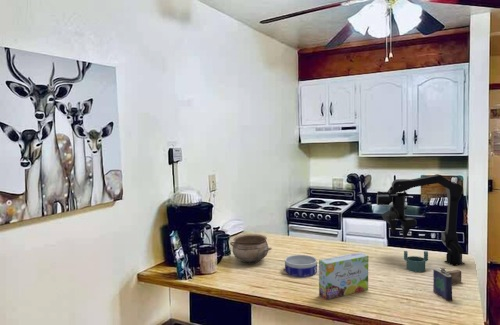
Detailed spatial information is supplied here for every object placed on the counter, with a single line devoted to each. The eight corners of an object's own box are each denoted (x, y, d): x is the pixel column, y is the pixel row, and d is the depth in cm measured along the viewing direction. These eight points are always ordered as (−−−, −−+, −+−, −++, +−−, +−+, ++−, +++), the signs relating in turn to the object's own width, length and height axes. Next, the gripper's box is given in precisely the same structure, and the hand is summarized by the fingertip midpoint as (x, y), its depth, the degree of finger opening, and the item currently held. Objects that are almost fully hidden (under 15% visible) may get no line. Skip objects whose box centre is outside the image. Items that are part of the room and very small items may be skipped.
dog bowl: (293, 264, 194) (292, 252, 194) (321, 269, 186) (321, 256, 186) (279, 274, 181) (279, 262, 181) (310, 279, 173) (309, 266, 173)
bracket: (429, 269, 180) (429, 251, 179) (417, 273, 175) (417, 255, 175) (413, 264, 187) (413, 247, 187) (401, 268, 183) (401, 250, 182)
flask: (431, 291, 156) (431, 263, 155) (438, 290, 157) (439, 263, 156) (447, 301, 146) (447, 272, 145) (455, 301, 147) (455, 271, 146)
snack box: (326, 300, 151) (325, 263, 150) (318, 295, 156) (317, 259, 155) (369, 290, 159) (368, 254, 158) (360, 285, 164) (359, 251, 163)
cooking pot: (220, 263, 199) (219, 240, 198) (241, 253, 215) (240, 231, 214) (262, 271, 186) (261, 246, 185) (280, 259, 201) (279, 236, 201)
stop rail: (457, 280, 165) (457, 269, 165) (461, 282, 164) (461, 271, 163) (435, 285, 162) (435, 273, 162) (438, 286, 160) (438, 275, 160)
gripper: (373, 203, 197) (373, 233, 198) (397, 210, 179) (397, 242, 180) (391, 201, 200) (391, 230, 201) (417, 207, 182) (417, 239, 184)
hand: (398, 235), depth 191 cm, fingers open, 8 cm apart
